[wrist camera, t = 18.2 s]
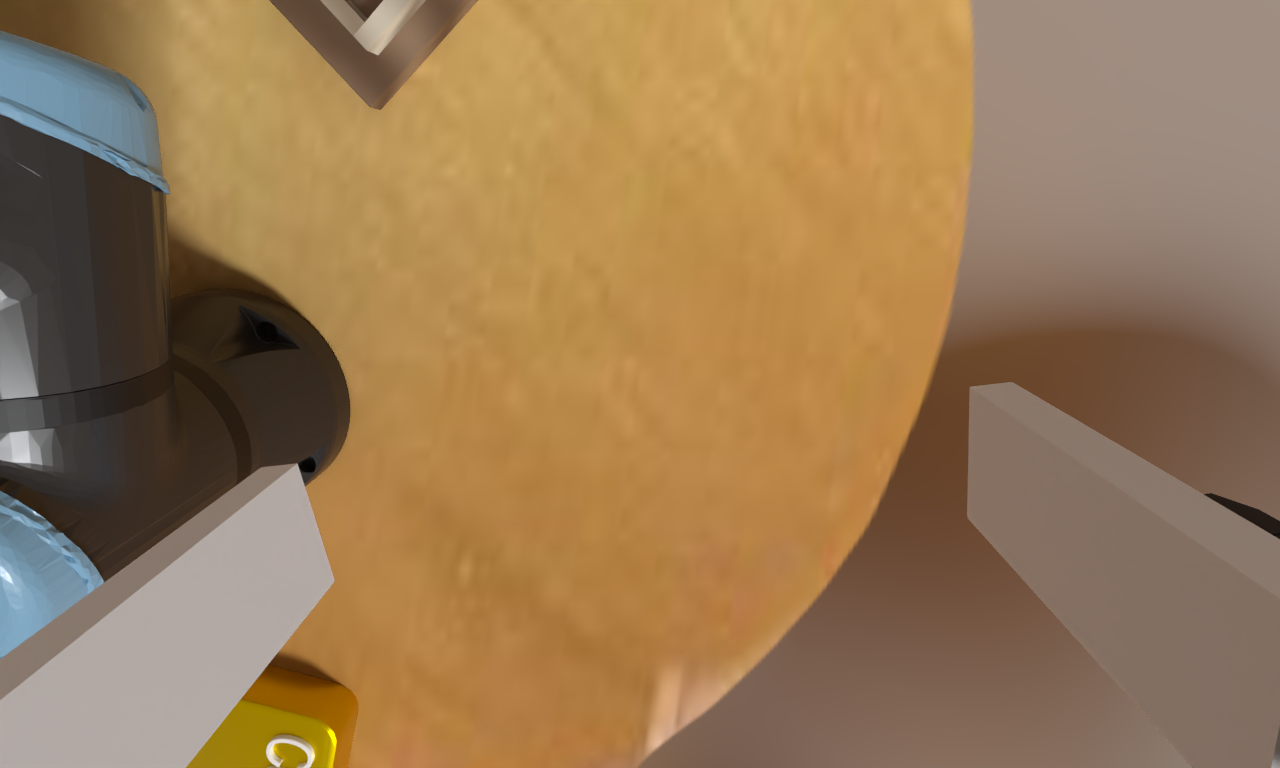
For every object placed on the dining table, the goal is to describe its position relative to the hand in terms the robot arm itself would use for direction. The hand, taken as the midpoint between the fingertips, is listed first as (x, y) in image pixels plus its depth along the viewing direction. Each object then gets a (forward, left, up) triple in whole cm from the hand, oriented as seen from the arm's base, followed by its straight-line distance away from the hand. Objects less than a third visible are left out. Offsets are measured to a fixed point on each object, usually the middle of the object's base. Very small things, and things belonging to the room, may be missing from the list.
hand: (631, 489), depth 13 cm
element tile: (-38, -35, -32) cm, 61 cm away
